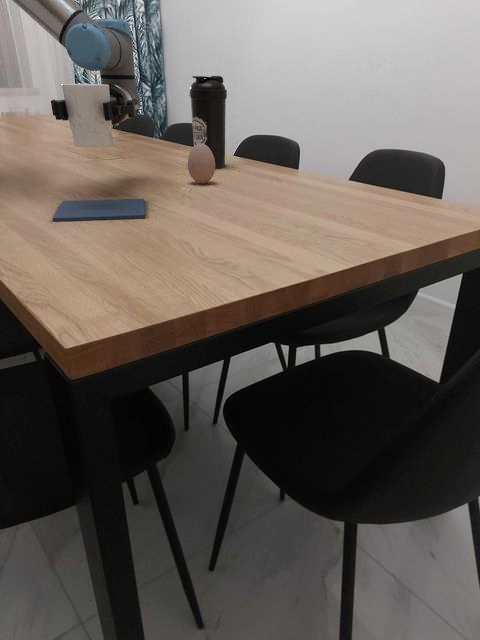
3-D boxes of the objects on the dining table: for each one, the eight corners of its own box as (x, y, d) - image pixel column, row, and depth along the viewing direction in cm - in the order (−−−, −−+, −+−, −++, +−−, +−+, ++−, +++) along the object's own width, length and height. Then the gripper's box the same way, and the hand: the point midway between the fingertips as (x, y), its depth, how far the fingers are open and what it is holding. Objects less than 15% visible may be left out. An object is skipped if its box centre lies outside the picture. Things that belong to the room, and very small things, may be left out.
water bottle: (185, 165, 145) (180, 75, 134) (213, 162, 151) (211, 75, 140) (206, 170, 138) (203, 75, 127) (235, 167, 144) (234, 76, 133)
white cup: (117, 142, 97) (110, 84, 92) (114, 148, 90) (106, 85, 85) (74, 143, 95) (65, 83, 91) (68, 148, 89) (57, 84, 84)
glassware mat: (53, 221, 89) (52, 218, 89) (63, 203, 101) (62, 200, 101) (145, 218, 92) (144, 214, 92) (144, 201, 104) (144, 198, 104)
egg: (199, 179, 126) (197, 140, 122) (221, 182, 123) (220, 143, 119) (183, 184, 121) (180, 143, 117) (205, 187, 118) (203, 145, 114)
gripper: (161, 124, 108) (144, 136, 88) (64, 123, 107) (24, 134, 87) (158, 85, 104) (139, 87, 84) (58, 83, 103) (15, 85, 83)
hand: (81, 111), depth 85 cm, fingers closed on white cup, 8 cm apart
